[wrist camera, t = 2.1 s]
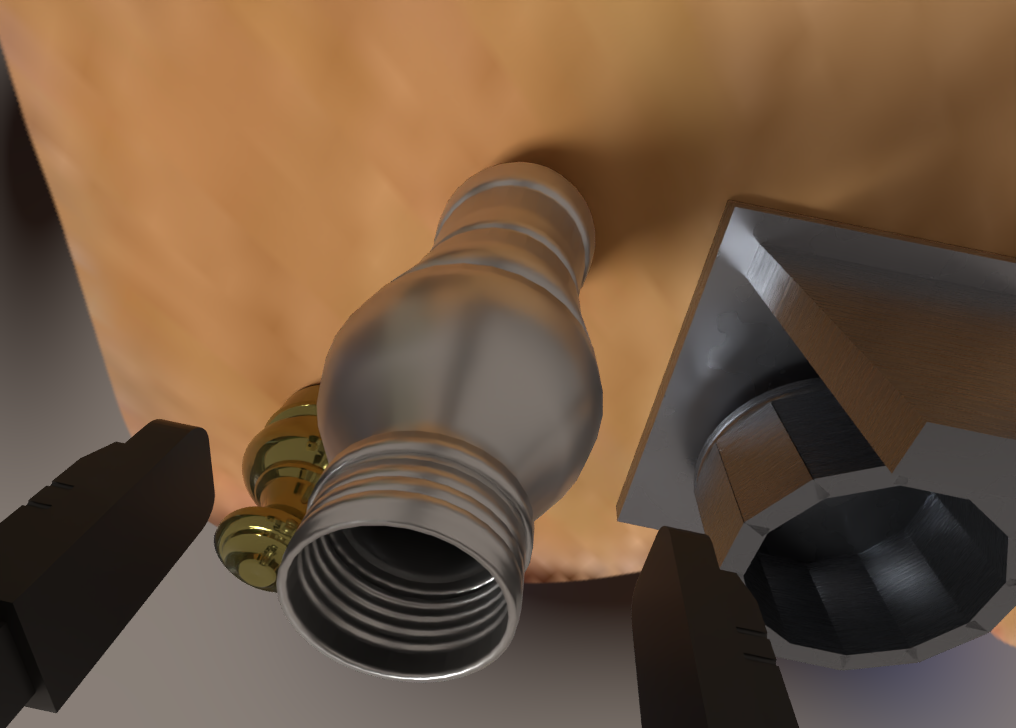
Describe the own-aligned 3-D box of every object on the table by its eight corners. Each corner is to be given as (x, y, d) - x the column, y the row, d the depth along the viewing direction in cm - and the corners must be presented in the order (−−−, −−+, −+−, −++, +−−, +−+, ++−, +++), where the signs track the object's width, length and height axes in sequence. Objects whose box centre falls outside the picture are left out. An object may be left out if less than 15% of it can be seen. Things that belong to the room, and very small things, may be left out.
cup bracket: (728, 199, 24) (888, 358, 12) (1076, 270, 24) (1613, 506, 11) (616, 506, 33) (638, 779, 21) (868, 558, 33) (1044, 865, 20)
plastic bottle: (624, 228, 25) (729, 634, 8) (517, 321, 28) (415, 774, 10) (523, 116, 23) (362, 312, 6) (419, 228, 26) (100, 585, 9)
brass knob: (256, 395, 32) (135, 524, 23) (373, 368, 30) (290, 496, 21) (314, 492, 35) (227, 638, 26) (423, 473, 33) (368, 622, 25)
